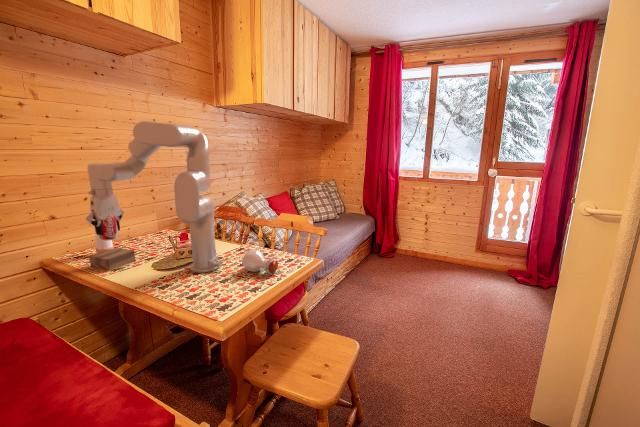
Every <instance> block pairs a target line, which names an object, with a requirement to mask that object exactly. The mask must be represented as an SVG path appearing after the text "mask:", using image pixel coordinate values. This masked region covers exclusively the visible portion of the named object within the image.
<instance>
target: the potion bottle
mask: <svg viewBox="0 0 640 427" xmlns="http://www.w3.org/2000/svg"><path fill="white" fill-rule="evenodd" d="M241 261H242V266H243V268H244V269H245V271H248V272H250V273H256V272H259V271H260V270H264V272H266V273H267V274H270V275H275V274H276V271H277V269H278V268H279V263H278V262H279V261H278V259H276V260H275V258H274V257H272V258H270V259H269V258H266V257H265V255H264V253H263V252H262V251H261V250H258V249H250V250H248V251H246V252H245V253H244V255H243V257H242V260H241Z"/></svg>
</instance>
